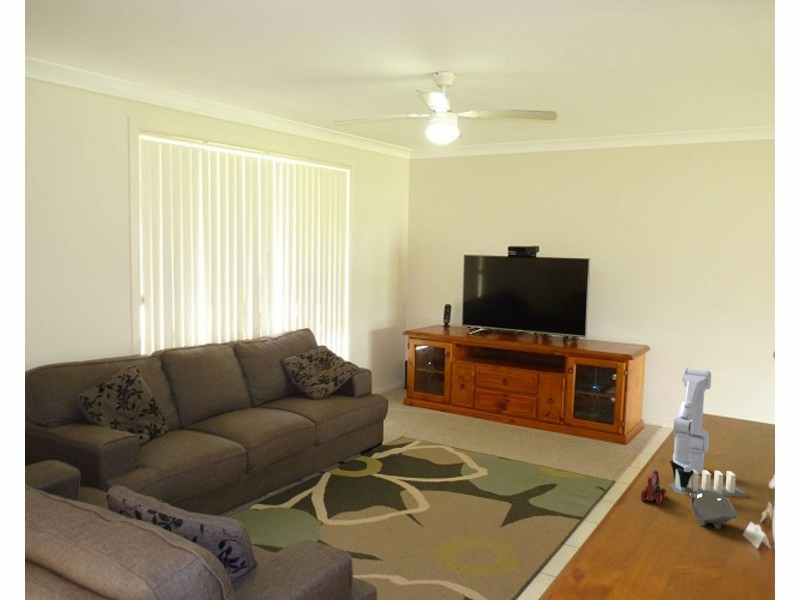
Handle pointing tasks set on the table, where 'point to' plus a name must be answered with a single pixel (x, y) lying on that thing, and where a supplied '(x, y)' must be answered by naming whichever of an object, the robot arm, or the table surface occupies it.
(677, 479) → the pale green tile
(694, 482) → the tile
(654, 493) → the toy fire truck
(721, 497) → the piggy bank
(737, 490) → the runner mat
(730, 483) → the tile
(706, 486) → the tile
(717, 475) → the tile
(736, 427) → the table surface
